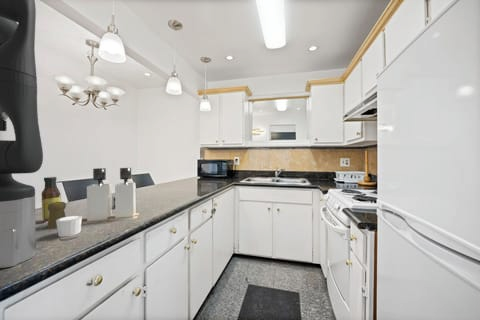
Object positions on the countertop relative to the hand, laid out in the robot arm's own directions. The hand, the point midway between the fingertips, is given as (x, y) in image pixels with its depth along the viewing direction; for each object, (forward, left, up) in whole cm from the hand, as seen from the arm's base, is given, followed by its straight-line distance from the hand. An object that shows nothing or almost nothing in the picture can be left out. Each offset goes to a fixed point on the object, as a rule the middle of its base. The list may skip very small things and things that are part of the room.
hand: (10, 132), depth 70 cm
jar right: (+2, -37, -37) cm, 52 cm away
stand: (+2, -32, -38) cm, 50 cm away
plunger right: (+2, -37, -35) cm, 51 cm away
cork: (-2, -14, -38) cm, 41 cm away
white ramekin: (-13, -22, -38) cm, 46 cm away
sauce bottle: (+13, -6, -38) cm, 41 cm away
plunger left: (+2, -27, -35) cm, 44 cm away
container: (+24, -32, -38) cm, 55 cm away
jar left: (+2, -27, -37) cm, 46 cm away
